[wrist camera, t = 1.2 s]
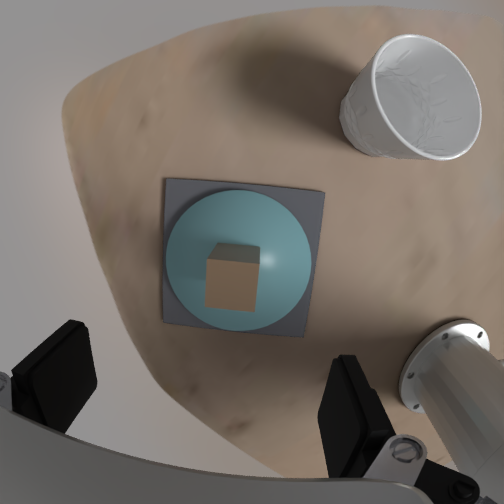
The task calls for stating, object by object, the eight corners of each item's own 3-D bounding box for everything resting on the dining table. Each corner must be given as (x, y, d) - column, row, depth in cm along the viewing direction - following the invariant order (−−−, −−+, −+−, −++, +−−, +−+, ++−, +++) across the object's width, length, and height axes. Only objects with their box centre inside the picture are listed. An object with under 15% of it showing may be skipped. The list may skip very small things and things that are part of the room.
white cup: (360, 179, 24) (414, 182, 15) (314, 97, 23) (344, 53, 13) (428, 143, 23) (498, 134, 14) (386, 66, 22) (440, 23, 12)
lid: (318, 198, 24) (334, 204, 19) (298, 332, 27) (306, 368, 22) (171, 184, 25) (146, 187, 19) (168, 318, 27) (148, 350, 22)
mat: (323, 192, 25) (325, 192, 24) (302, 334, 28) (303, 337, 27) (168, 178, 25) (166, 178, 24) (164, 320, 28) (163, 322, 27)
